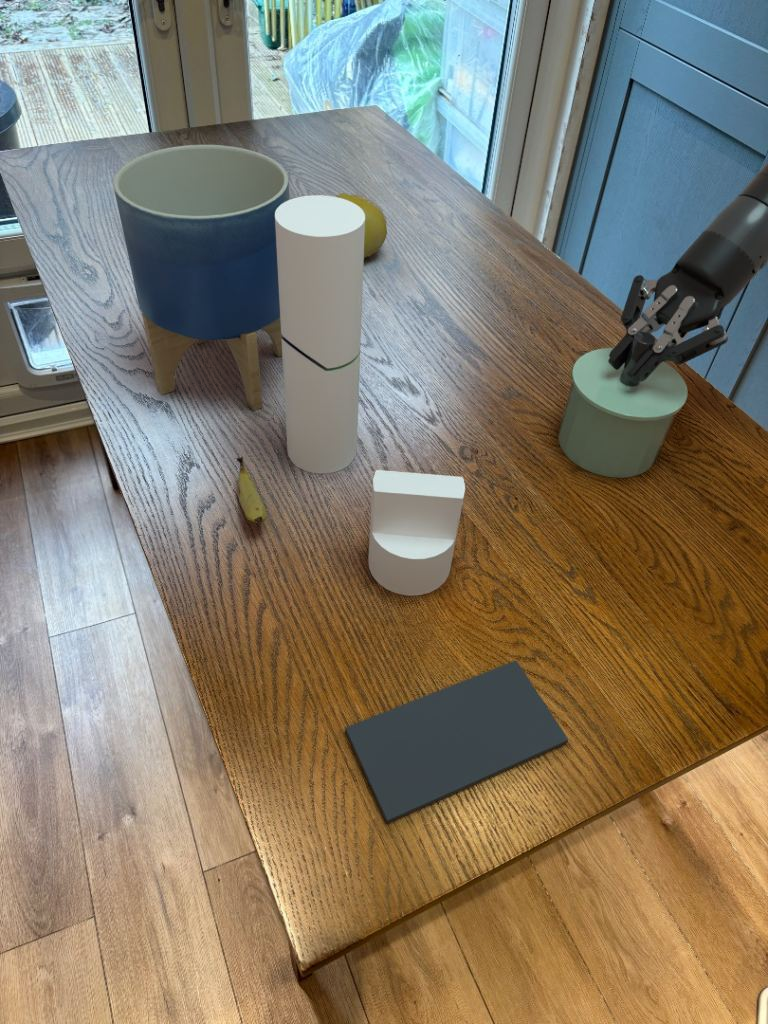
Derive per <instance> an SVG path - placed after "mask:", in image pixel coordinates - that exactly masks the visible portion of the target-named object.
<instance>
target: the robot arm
mask: <svg viewBox="0 0 768 1024" xmlns="http://www.w3.org/2000/svg"><path fill="white" fill-rule="evenodd" d="M767 264H768V160H767V161H766V162H765V163H764V165H763V166H762V167H761V169H760V170H759V171H758V172H757V173H756V175H755V176H754V177H753V178H751V180H750V181H749V183H748V184H747V185H746V186H745V187H744V188H743V189H742V190H741V192H740V193H739V194H738V195H737V196H736V197H734V199H733V200H732V201H731V202H730V203H729V204H727V206H726V207H724V209H722V210H721V211H720V212H719V213H718V214H717V215H716V217H715V218H714V219H713V220H711V222H710V223H709V224H708V225H707V227H706V228H705V229H704V230H703V231H702V232H701V233H700V235H699V236H698V237H697V238H696V239H695V240H694V241H693V242H692V244H691V245H690V246H689V247H688V248H687V249H686V250H685V251H684V253H683V254H682V255H681V256H680V257H679V258H678V259H677V261H676V262H675V264H674V266H673V268H672V269H671V270H670V271H669V272H667V273H665V274H664V275H661V276H660V277H659V278H658V279H645V278H644V276H643V275H641V274H638V275H636V276H635V277H634V278H633V279H632V283H631V286H630V288H629V292H628V295H627V297H626V300H625V304H624V307H623V310H622V313H621V316H620V322H621V323H622V325H623V326H624V328H625V330H626V333H625V334H624V335H623V337H622V338H621V339H620V341H619V342H618V343H617V344H615V346H614V347H613V348H614V349H613V350H612V351H611V352H610V354H609V357H610V358H609V360H608V362H609V364H610V365H611V366H612V367H613V368H614V369H616V370H618V369H619V368H620V367H621V366H622V365H623V364H624V363H625V361H626V358H627V355H628V352H629V349H630V347H631V344H632V341H633V338H634V335H635V334H636V333H638V332H646V333H649V334H651V335H652V334H653V333H654V332H658V331H659V330H660V329H661V328H662V327H663V326H665V327H664V328H663V332H662V334H661V335H660V336H659V338H658V339H657V341H655V344H654V346H653V349H652V351H651V350H648V351H647V352H646V353H645V354H644V355H643V356H642V357H641V358H640V360H639V361H638V362H637V363H636V364H635V365H634V366H633V367H632V368H631V370H630V371H629V372H628V373H627V377H628V378H629V379H630V380H631V381H632V382H633V383H635V384H636V383H638V382H639V381H641V382H642V381H644V380H646V379H647V378H648V377H649V375H650V374H651V373H652V372H653V371H654V370H655V369H656V368H657V367H658V366H659V364H660V363H662V362H663V361H664V362H672V363H674V364H675V365H678V366H680V365H683V364H685V363H687V362H690V361H691V360H693V359H696V358H697V357H700V356H702V355H704V354H706V353H708V352H711V351H712V350H715V349H716V348H719V347H720V346H721V347H722V346H723V345H725V344H726V343H727V342H728V340H729V337H728V334H727V332H726V329H725V328H724V326H723V325H722V324H721V322H720V319H721V317H722V314H723V311H724V310H725V307H727V305H729V304H731V302H732V301H734V299H735V298H736V297H737V296H738V295H739V294H740V292H741V291H743V289H744V288H745V287H746V286H747V285H748V284H749V283H750V282H751V281H752V280H753V278H755V276H757V274H758V273H759V272H760V271H761V270H763V269H764V268H765V267H766V266H767ZM653 294H654V296H653V302H652V303H651V304H650V305H648V306H647V307H646V308H645V309H644V306H645V303H646V300H650V299H651V297H652V295H653ZM643 309H644V310H643ZM701 328H703V329H702V330H701V332H700V333H698V334H696V335H694V336H692V337H690V338H687V337H688V335H689V334H690V333H691V332H692V331H695V330H698V329H701ZM686 338H687V339H686Z"/></svg>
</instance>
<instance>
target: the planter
mask: <svg viewBox="0 0 768 1024" xmlns="http://www.w3.org/2000/svg"><path fill="white" fill-rule="evenodd" d="M289 179H290V178H289V176H288V172H287V171H286V170H285V168H284V166H282V164H280V163H279V162H277V161H276V160H275V159H273V158H271V157H269V156H267V155H265V154H263V153H261V152H257V151H254V150H251V149H246V148H241V147H237V146H230V145H223V144H222V145H221V144H189V145H188V144H187V145H179V146H173V147H172V146H171V147H166V148H162V149H157V150H154V151H150V152H147V153H145V154H142V155H140V156H137V157H135V158H133V159H131V160H130V161H128V162H127V163H125V164H124V165H123V166H122V167H120V168H119V170H118V171H117V172H116V173H115V176H114V178H113V191H114V196H115V199H116V205H117V210H118V213H119V219H120V223H121V228H122V234H123V238H124V243H125V247H126V252H127V256H128V257H127V258H128V261H129V266H130V272H131V276H132V280H133V285H134V289H135V294H136V299H137V304H138V307H139V309H140V311H141V317H142V321H143V327H144V330H145V331H144V332H145V335H146V341H147V345H148V350H149V355H150V359H151V364H152V368H153V369H152V370H153V374H154V379H155V383H156V387H157V388H156V389H157V391H158V392H159V393H160V395H161V396H163V395H165V394H169V393H172V392H175V391H176V387H175V380H176V379H175V378H176V373H177V369H178V366H179V364H180V363H181V360H182V358H183V357H184V355H185V354H186V352H187V351H188V350H189V349H190V348H191V347H192V346H193V345H194V344H195V343H197V344H198V345H199V344H202V343H205V342H208V341H225V342H226V343H227V345H228V346H229V349H230V351H231V353H232V355H233V358H234V360H235V362H236V365H237V367H238V370H239V373H240V377H241V380H242V383H243V387H244V392H245V397H246V403H247V405H248V406H249V408H251V409H252V411H257V410H260V409H262V408H263V407H264V405H263V404H264V403H263V394H262V393H263V392H262V383H261V370H260V369H261V368H260V359H259V358H260V357H259V348H258V336H257V335H258V333H257V332H258V331H260V330H262V331H263V332H265V333H266V334H267V335H268V337H269V339H270V341H271V344H272V347H273V353H274V354H275V355H276V356H277V357H278V358H280V357H282V339H281V337H283V338H285V337H284V336H283V335H282V334H281V321H280V302H279V284H278V265H277V246H276V228H275V211H276V209H277V208H278V207H279V206H280V205H281V204H283V203H284V202H286V201H288V200H290V182H289Z"/></svg>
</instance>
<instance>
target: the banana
mask: <svg viewBox="0 0 768 1024" xmlns="http://www.w3.org/2000/svg"><path fill="white" fill-rule="evenodd" d="M236 461H237V462H238V463H239V467H240V468H239V476H238V479H237V481H238V483H237V496H238V501H239V504H240V506H241V509H242V512H243V513H244V515H245V517H246V519H247V520H248V521H250V522H252V523H256V524H261V523H263V522H264V521H266V519H267V510H266V507H265V504H264V502H263V500H262V498H261V495H260V493H259V491H258V489H257V486H256V483H255V481H254V479H253V478H252V476H251V475H250V473H248V471H247V469H246V466H245V463H244V456H241V457H236Z"/></svg>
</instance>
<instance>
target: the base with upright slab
mask: <svg viewBox="0 0 768 1024" xmlns="http://www.w3.org/2000/svg"><path fill="white" fill-rule="evenodd" d="M373 475H374V476H373V479H372V490H371V509H370V521H369V538H368V539H369V541H368V555H367V556H368V557H367V562H368V569H369V572H370V574H371V576H372V577H373V579H374V580H375V581H376V582H377V584H378V585H380V586H382V587H383V588H384V589H386V590H387V591H390V592H392V593H394V594H397V595H403V596H407V597H409V596H410V597H411V596H413V597H414V596H423V595H427V594H431V593H432V592H434V591H436V590H438V589H439V588H440V587H441V586H442V585H443V584H444V583H446V581H447V579H448V577H449V576H450V573H451V572H450V571H451V567H452V562H453V556H454V551H455V545H456V541H457V534H458V530H459V524H460V518H461V513H462V509H463V503H464V497H465V491H466V485H465V479H464V477H463V476H456V475H444V474H433V473H432V474H431V473H420V472H407V471H396V470H395V471H394V470H383V469H376V470H375V472H374V474H373Z"/></svg>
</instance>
